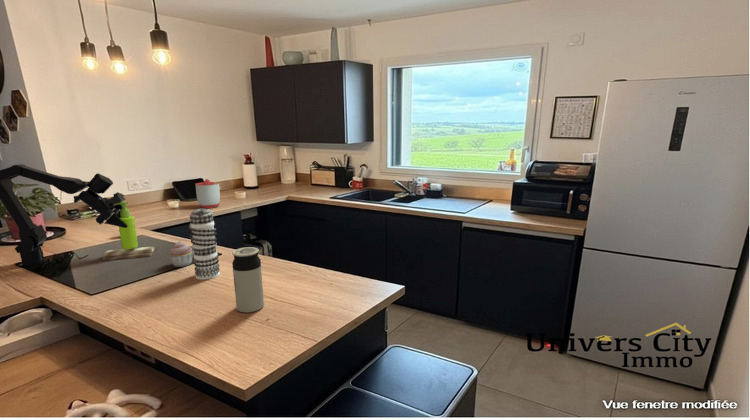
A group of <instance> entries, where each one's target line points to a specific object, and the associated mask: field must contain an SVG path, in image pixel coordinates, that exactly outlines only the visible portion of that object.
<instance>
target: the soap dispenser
mask: <svg viewBox="0 0 750 420" xmlns="http://www.w3.org/2000/svg"><path fill="white" fill-rule="evenodd" d="M118 204H122V209H121V210H120V214H121V217H120V219H121V220H122V221H123V222H124V223H125V224H126V225H127V226H128V227H127V228H123V227H119V226H118V228H119V229H118V232H119V231H120V232H119V236H120V244H121V249H131V248H139V244H138V237H137V230H136V223H135V217H134V216H131V212H130V209H129V208H127V205H128V201H122V202H120V203H116V204H114V205H118Z"/></svg>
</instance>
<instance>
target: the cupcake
mask: <svg viewBox="0 0 750 420" xmlns="http://www.w3.org/2000/svg"><path fill="white" fill-rule="evenodd" d="M168 257H169V258H170V260H171V262H172V264H173V266H174V267H176V268H184V267H188V266H191V264H192V261H193V260H192V259H193V257H194V250H193V248H192V246H190V245H189V244H188V243H184V242H183V241H182V240H179V241H176V243H174V244H173V247H172V248H171V249H170V253H169V254H168Z"/></svg>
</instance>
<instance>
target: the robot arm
mask: <svg viewBox="0 0 750 420" xmlns="http://www.w3.org/2000/svg"><path fill="white" fill-rule="evenodd" d="M19 176H20V177H23V178H26V179H29V180H33V181H35V182H38V183H43V184H46V185H50V186H52V187H55V188H56V189H57V190H59V191H60V192H63V193H66V194H68V195H73V204H77V203H78V202H80V201H81V202H82V203H84V204H85V205H87V206H88V207H89V208H90V210H91V211H92V212H94V211H95V212H96V213H98V214H99V215H97V217H95V222H96V223H97V224H98V225H103V224H104V225H110V226H114V227H115V226H116V227H118V228H119V227H123V228H127V227H128V226H127V225H126V224H125V223H124V222H123V221H122V220H121V219H120V217H121V214H120V210H121V209H122V204H118V205H114V204H116V203H120V202H124V201H125V200H126V197H125V194H123V193H120V192H115V193H113V195H112V197H110V198H108V197H103V196H101V195H100V194H105V193H106V192H107V191H108V189H109V188H110V187H112V186H113V185H114V182H113V180H112V179H111V178H109V177H107V176H105V175H103V174H100V173H98V172H97V173H96V174H94V175H93V177H92V178H91V179H90V180H89V181H87V180H86V181H85V180H84V181H83V180H82V179H81V178H77V177H71V176H70V177H68V176H62V175H61V176H60V175H56V174H53V173H50V172H46V171H43V170H40V169H37V168H35V167H34V168H33V167H30V166H28V165H25V164H22V163H20V164H13V165H12V166H8V167H6V168H3V169H0V202H1V203H2V205H3V207H4V208H5V210H6V211H7V213H8V214H9V216H10V217H11V219H12V220H13V222H14V224H15V225H16V227H17V230H18V238H19V240H20V242H19V243H18V244H17V245H16V246H15V248H14V250H15V251H16V253H17V254H19V256H20V260H21V263H20V264H18V266H19V267H35V266H37V265H41V264H44V263H46V262H48V259H45V256H44V252H43V250H42V247H43V246H44V243H45V242H46V240H47V238H48V236H47V234H48V232H47V231H46V230H45V229H44V226H43V225H42V224H38V225H37V224H35V223H34V222H33V221H32V219H31V218H30V215H28V212H27V211H26V209H25V208H24V206H23V204H22V203H21V202H20V200H19V198H18V197H17V195H16V194H15V192H14V187H13V181H12V179H15V178H18V177H19ZM84 189H86V190H84ZM77 193H79V194H77ZM74 194H77V195H74ZM104 221H105V222H104Z"/></svg>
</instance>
